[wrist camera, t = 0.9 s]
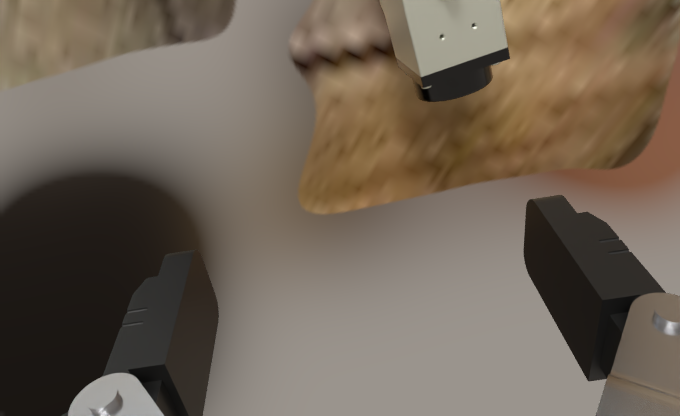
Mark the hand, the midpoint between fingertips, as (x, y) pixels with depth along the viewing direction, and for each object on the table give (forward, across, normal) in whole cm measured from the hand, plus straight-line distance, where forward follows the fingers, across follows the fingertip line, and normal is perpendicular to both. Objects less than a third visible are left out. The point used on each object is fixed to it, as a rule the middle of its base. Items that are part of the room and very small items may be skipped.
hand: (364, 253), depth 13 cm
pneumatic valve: (+28, -6, -1) cm, 28 cm away
